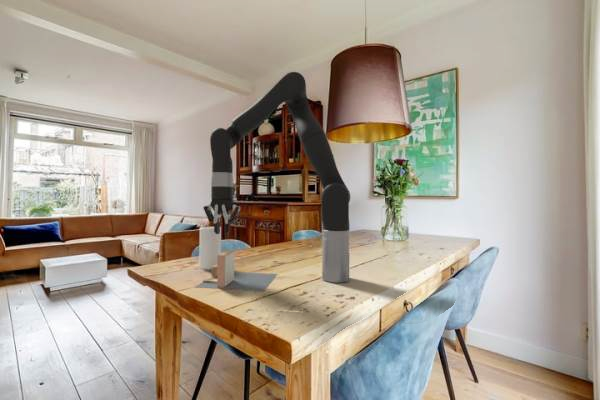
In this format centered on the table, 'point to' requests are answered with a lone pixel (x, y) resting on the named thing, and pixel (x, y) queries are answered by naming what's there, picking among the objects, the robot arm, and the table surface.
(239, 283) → the mat
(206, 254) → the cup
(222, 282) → the tile
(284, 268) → the table surface
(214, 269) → the beige pillar on base
